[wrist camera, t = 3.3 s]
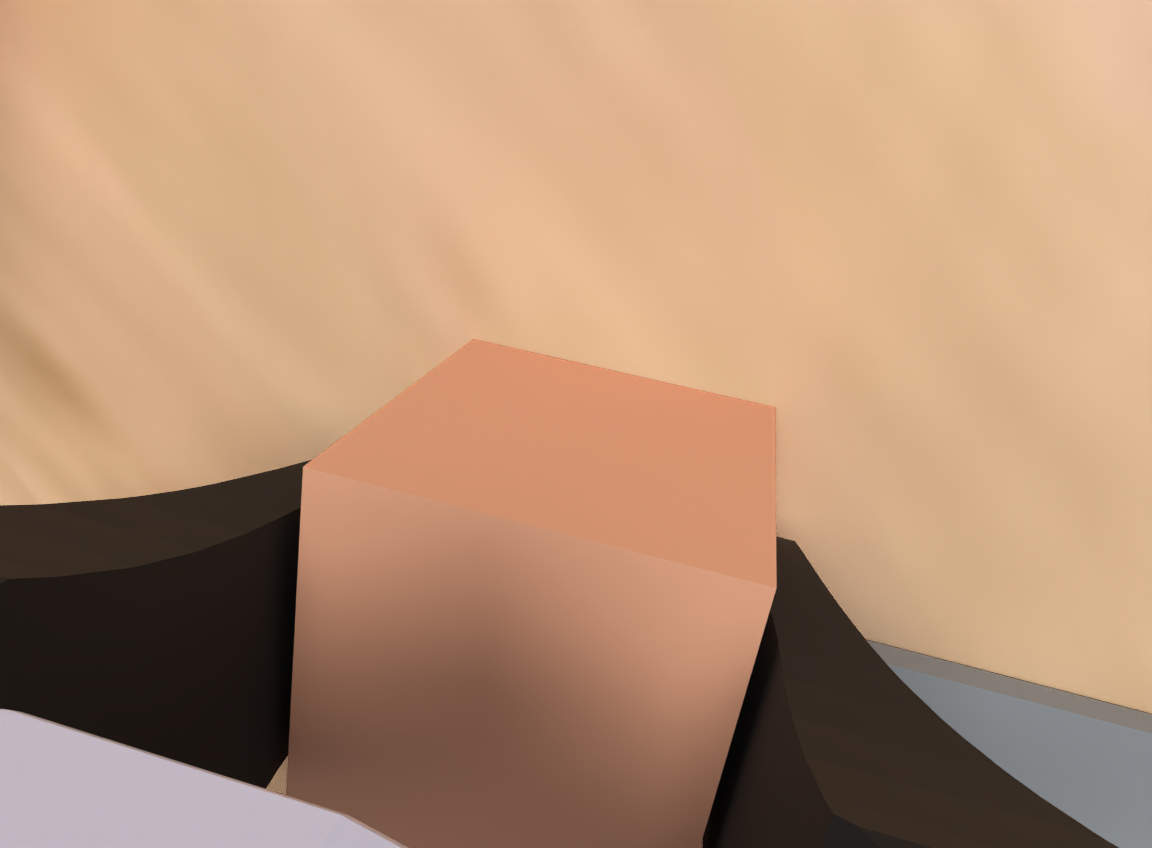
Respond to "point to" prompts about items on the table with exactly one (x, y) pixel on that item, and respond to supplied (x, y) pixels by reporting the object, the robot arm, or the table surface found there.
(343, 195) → the table surface
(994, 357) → the table surface
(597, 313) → the table surface
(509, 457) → the terracotta block
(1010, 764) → the board
